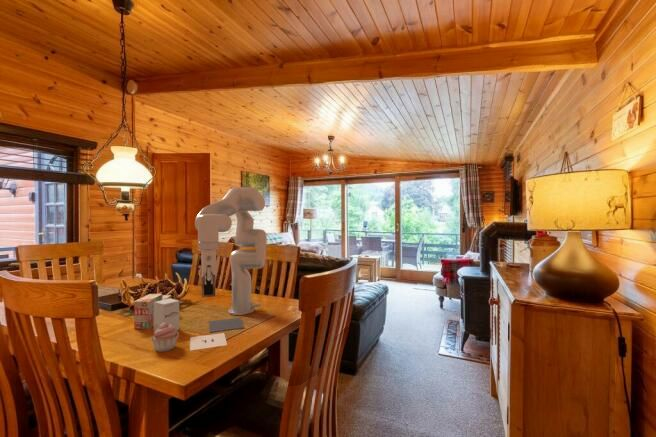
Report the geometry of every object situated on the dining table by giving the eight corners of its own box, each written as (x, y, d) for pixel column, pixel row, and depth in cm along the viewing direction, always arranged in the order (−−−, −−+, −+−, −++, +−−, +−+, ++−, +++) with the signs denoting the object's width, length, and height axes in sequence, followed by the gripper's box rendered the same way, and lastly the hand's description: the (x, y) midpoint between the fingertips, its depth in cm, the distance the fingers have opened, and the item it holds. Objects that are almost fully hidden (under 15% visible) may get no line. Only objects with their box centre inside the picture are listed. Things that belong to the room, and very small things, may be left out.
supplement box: (163, 335, 130) (163, 304, 130) (153, 331, 134) (153, 301, 134) (179, 329, 136) (179, 300, 136) (169, 326, 140) (169, 297, 140)
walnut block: (214, 293, 127) (214, 273, 127) (215, 296, 122) (215, 275, 122) (201, 294, 125) (201, 274, 125) (201, 297, 120) (201, 276, 120)
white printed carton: (159, 313, 158) (159, 289, 158) (172, 313, 158) (172, 289, 158) (133, 329, 137) (133, 300, 136) (148, 329, 137) (148, 300, 136)
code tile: (224, 333, 132) (224, 332, 132) (227, 345, 120) (227, 344, 120) (190, 337, 127) (190, 337, 127) (189, 350, 115) (189, 350, 115)
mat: (240, 318, 151) (240, 317, 151) (244, 328, 138) (244, 327, 138) (208, 322, 145) (208, 321, 145) (210, 333, 132) (210, 331, 132)
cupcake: (175, 353, 113) (175, 325, 113) (147, 355, 112) (147, 327, 111) (182, 342, 123) (182, 317, 122) (155, 344, 121) (155, 318, 120)
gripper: (220, 248, 117) (220, 297, 117) (217, 243, 132) (217, 287, 133) (198, 249, 114) (198, 299, 114) (197, 244, 130) (197, 288, 130)
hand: (208, 292), depth 123 cm, fingers closed on walnut block, 5 cm apart
